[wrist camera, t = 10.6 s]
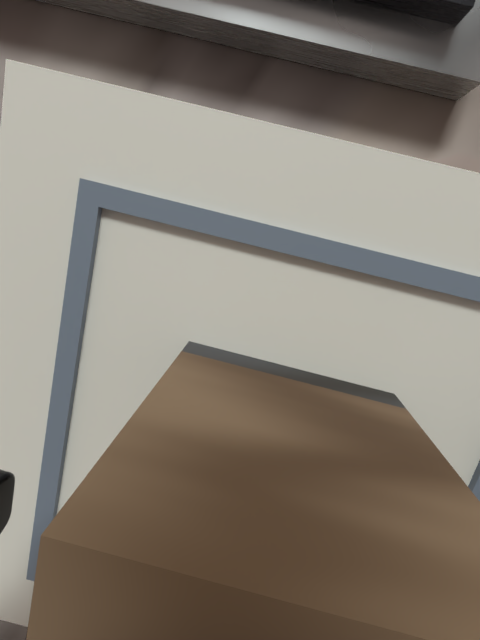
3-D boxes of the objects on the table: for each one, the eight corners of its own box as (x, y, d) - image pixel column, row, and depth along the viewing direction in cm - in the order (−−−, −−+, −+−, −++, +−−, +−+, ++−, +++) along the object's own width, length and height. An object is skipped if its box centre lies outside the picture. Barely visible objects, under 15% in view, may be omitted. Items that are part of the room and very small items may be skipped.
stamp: (394, 393, 9) (633, 694, 3) (332, 563, 10) (419, 1018, 4) (189, 341, 9) (40, 535, 3) (150, 515, 10) (-11, 893, 4)
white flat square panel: (675, 230, 8) (728, 230, 7) (436, 709, 12) (451, 751, 11) (29, 74, 9) (-1, 54, 8) (-21, 584, 12) (-46, 614, 11)
